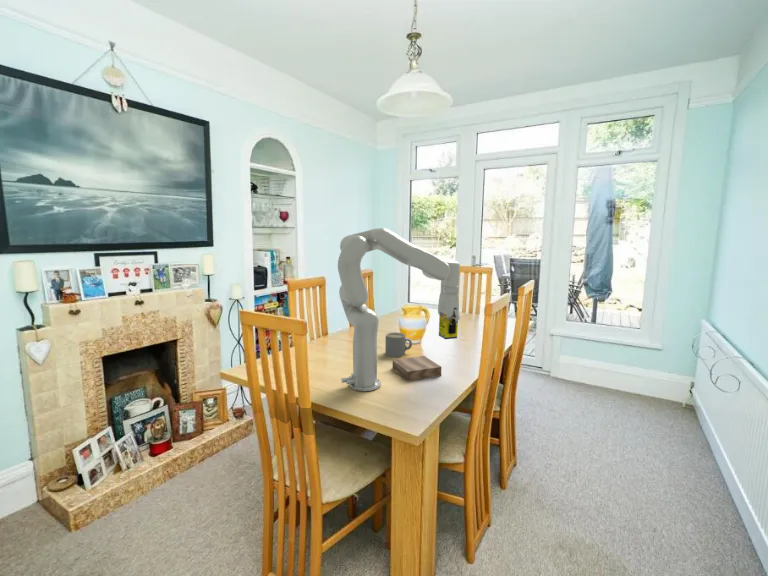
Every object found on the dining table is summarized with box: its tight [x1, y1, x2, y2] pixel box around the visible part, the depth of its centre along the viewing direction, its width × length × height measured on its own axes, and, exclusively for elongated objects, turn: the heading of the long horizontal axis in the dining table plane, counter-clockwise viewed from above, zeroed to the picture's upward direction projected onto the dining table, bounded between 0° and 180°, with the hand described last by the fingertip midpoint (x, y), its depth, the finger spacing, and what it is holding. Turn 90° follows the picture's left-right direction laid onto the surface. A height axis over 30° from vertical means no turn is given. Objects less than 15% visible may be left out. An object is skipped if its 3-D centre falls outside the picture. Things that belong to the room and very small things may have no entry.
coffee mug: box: [385, 331, 413, 358], centre depth 193 cm, size 13×10×10 cm
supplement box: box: [438, 312, 459, 340], centre depth 163 cm, size 6×6×11 cm
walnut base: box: [392, 355, 442, 382], centre depth 168 cm, size 16×16×4 cm
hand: (447, 331), depth 164 cm, fingers closed on supplement box, 6 cm apart
